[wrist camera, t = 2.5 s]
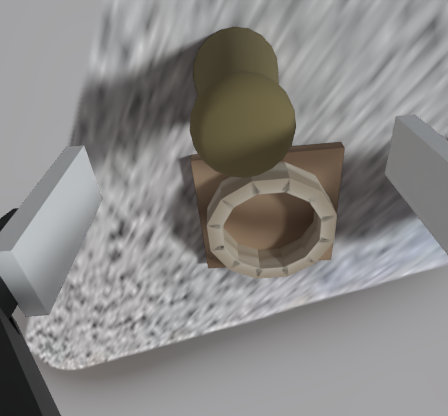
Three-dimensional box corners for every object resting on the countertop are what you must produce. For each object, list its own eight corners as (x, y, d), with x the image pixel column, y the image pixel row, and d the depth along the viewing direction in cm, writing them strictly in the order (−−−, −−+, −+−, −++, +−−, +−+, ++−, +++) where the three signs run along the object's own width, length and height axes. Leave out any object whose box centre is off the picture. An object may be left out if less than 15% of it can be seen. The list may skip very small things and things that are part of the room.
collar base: (191, 154, 29) (188, 177, 26) (341, 142, 28) (354, 163, 25) (208, 261, 36) (207, 287, 33) (328, 252, 35) (338, 278, 32)
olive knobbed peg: (287, 98, 26) (323, 175, 17) (211, 126, 27) (207, 210, 18) (264, 11, 23) (293, 50, 14) (178, 47, 24) (154, 104, 15)
